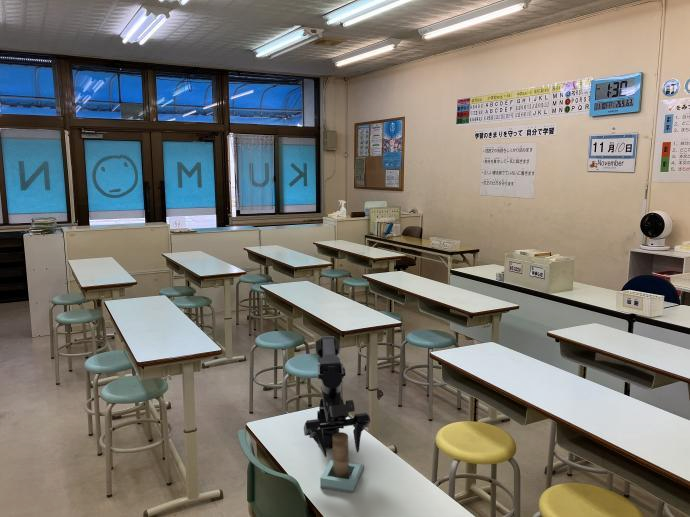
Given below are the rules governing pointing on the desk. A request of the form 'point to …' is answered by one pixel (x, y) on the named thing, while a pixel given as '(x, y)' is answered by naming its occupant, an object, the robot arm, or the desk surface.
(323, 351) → the robot arm
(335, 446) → the dowel peg
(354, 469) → the light blue hollow frame
